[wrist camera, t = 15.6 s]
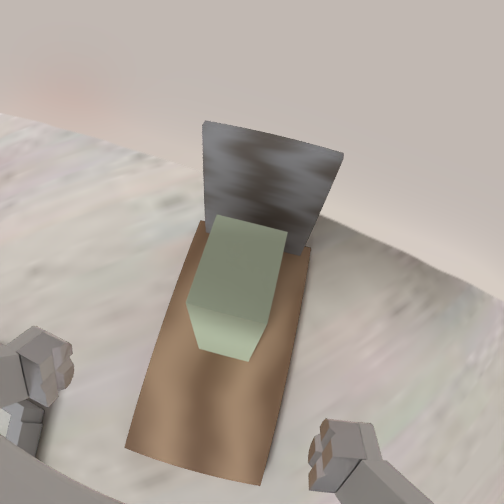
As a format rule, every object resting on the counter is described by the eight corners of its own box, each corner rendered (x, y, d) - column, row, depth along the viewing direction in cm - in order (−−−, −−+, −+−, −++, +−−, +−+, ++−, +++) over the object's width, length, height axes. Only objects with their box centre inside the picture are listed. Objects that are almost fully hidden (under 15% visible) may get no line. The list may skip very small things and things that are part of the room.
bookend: (306, 256, 35) (357, 150, 21) (257, 481, 24) (297, 542, 10) (201, 230, 36) (195, 112, 22) (130, 445, 24) (46, 466, 10)
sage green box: (263, 300, 30) (287, 232, 20) (248, 361, 27) (267, 324, 17) (216, 288, 30) (216, 214, 20) (198, 348, 27) (185, 302, 17)
